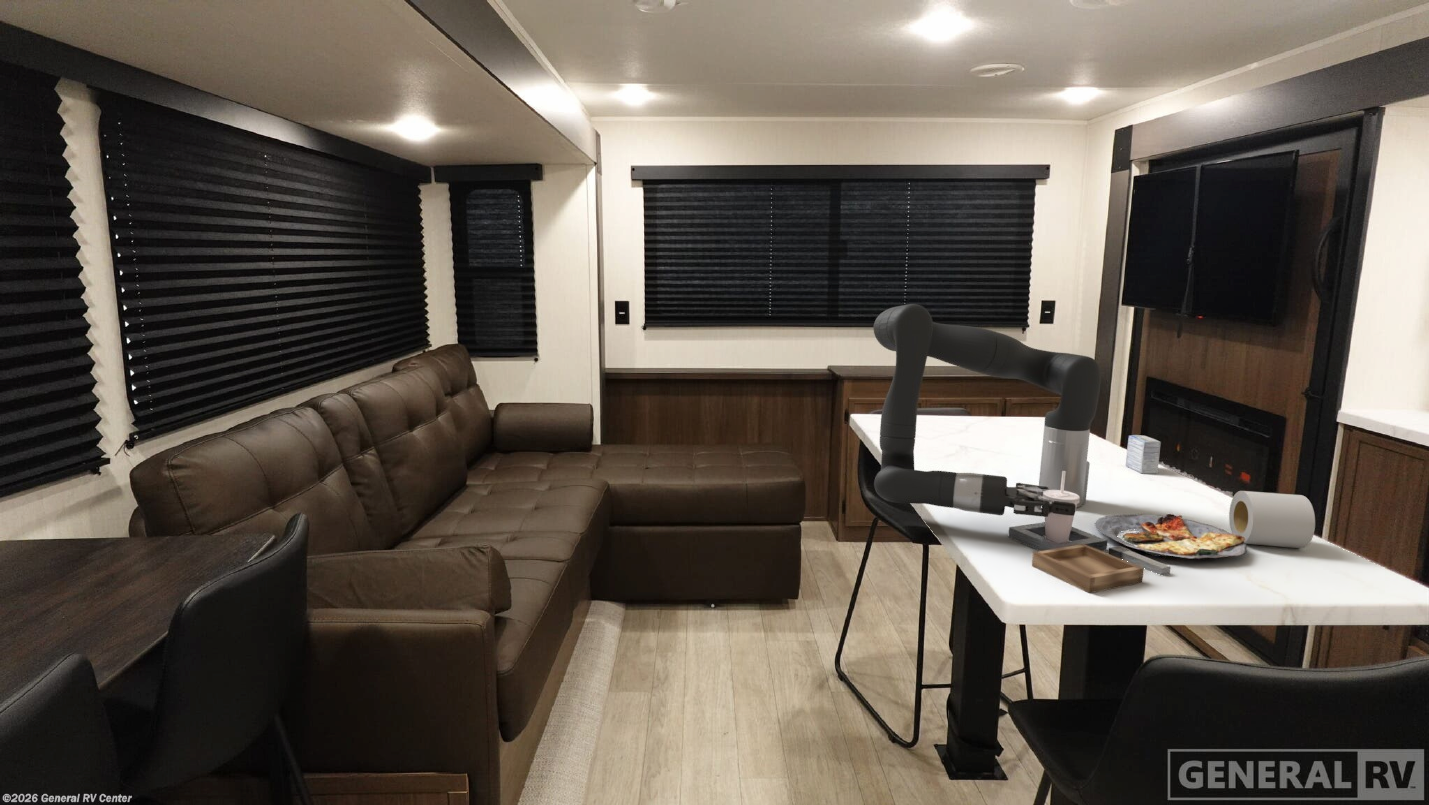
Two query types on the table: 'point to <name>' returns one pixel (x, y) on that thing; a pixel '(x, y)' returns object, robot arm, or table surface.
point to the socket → (1034, 539)
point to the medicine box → (1143, 454)
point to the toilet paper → (1272, 519)
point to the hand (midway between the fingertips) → (1074, 504)
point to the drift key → (1139, 560)
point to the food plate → (1172, 536)
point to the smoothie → (1058, 523)
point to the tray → (1087, 568)
